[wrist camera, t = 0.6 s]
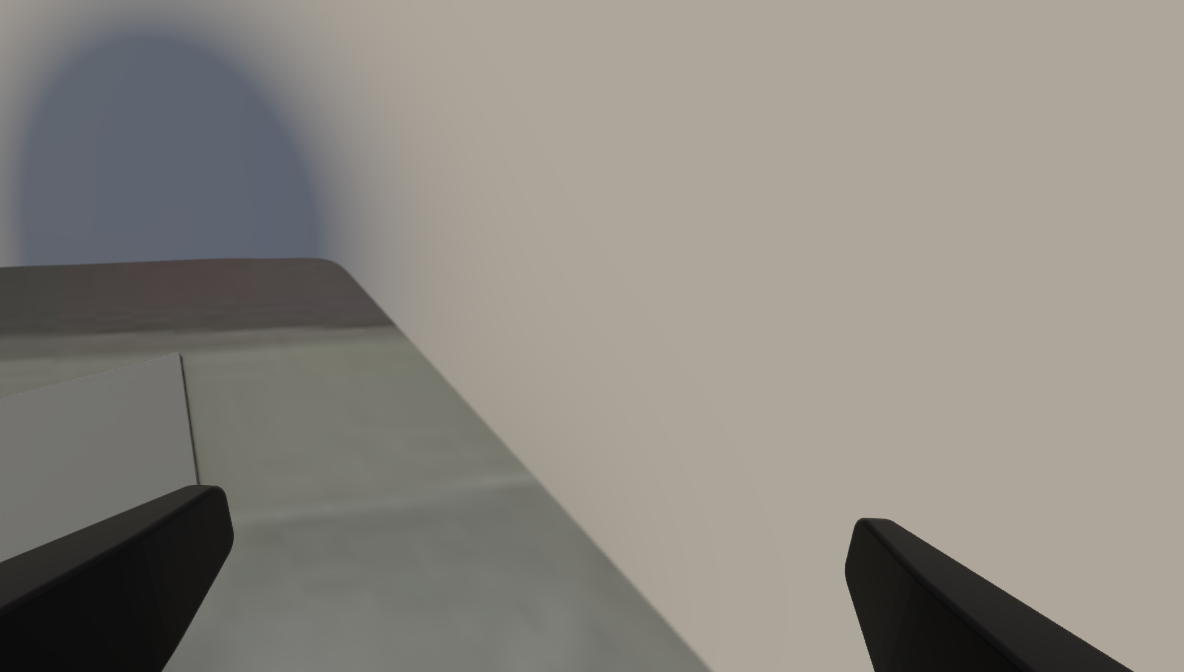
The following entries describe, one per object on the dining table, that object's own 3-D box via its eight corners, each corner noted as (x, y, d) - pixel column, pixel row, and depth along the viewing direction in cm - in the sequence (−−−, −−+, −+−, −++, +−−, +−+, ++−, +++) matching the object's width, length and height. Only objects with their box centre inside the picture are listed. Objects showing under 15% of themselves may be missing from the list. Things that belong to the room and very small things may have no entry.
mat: (203, 517, 26) (201, 513, 26) (-277, 701, 19) (-284, 697, 19) (180, 355, 35) (178, 351, 35) (-148, 441, 29) (-152, 437, 29)
